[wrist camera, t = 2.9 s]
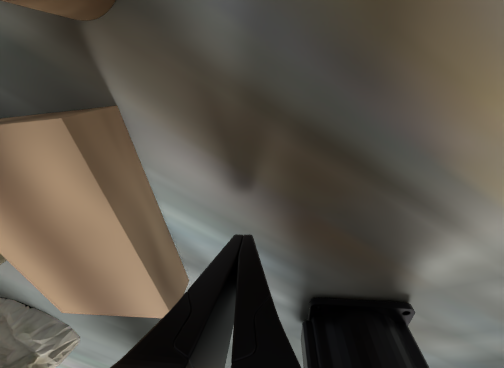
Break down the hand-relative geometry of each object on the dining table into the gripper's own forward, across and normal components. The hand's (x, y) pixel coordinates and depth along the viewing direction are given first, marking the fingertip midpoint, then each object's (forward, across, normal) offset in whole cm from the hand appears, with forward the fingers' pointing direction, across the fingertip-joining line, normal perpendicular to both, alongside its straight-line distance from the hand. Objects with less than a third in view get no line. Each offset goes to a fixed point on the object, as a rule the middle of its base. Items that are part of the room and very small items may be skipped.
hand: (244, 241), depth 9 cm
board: (+2, +9, 0) cm, 9 cm away
